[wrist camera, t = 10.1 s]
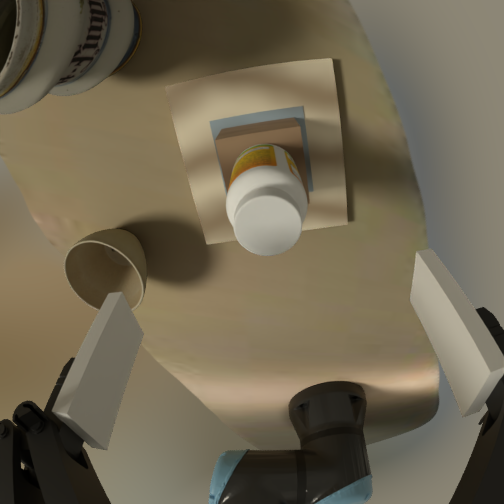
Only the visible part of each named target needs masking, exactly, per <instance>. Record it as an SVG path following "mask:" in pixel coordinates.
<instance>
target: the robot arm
mask: <svg viewBox="0 0 504 504" xmlns="http://www.w3.org/2000/svg"><path fill="white" fill-rule="evenodd" d="M410 302H411V304H412V305H413V307H414V309H415V311H416V313H417V315H418V317H419V319H420V321H421V323H422V325H423V327H424V329H425V331H426V333H427V336H428V338H429V340H430V342H431V344H432V346H433V348H434V350H435V353H436V355H437V357H438V359H439V361H440V364H441V366H442V368H443V370H444V373H445V375H446V377H447V380H448V382H449V384H450V387H451V389H452V392H453V394H454V397H455V399H456V402H457V404H458V407H459V409H460V412H461V415H462V417H466V416H468V415H471V414H473V413H476V412H479V411H480V410H481V408H482V407H483V405H484V404H485V403H486V405H487V407H488V411H487V412H486V413H485V415H484V416H483V417H482V419H481V420H480V422H479V425H481V424H482V422H483V424H482V427H481V430H480V433H479V436H478V439H477V441H476V444H475V447H474V449H473V452H472V454H471V457H470V459H469V462H468V464H467V467H466V469H465V471H464V473H463V476H462V478H461V480H460V482H459V484H458V486H457V488H456V491H455V493H454V495H453V497H452V499H451V501H450V502H449V504H504V330H503V329H502V327H501V326H500V324H499V322H498V321H497V319H496V318H495V316H494V315H493V314H492V313H491V312H490V311H488V310H487V309H486V308H484V307H482V308H478V309H475V308H474V307H473V306H472V304H471V302H470V301H469V300H468V298H467V297H466V295H465V294H464V293H463V291H462V289H461V288H460V287H459V285H458V284H457V282H456V281H455V279H454V278H453V277H452V275H451V274H450V273H449V271H448V270H447V269H446V267H445V266H444V264H443V263H442V262H441V261H440V259H439V258H438V257H437V255H436V254H435V253H434V251H433V250H432V249H427V250H421V251H416V260H415V268H414V275H413V282H412V289H411V295H410ZM143 335H144V333H143V331H142V329H141V328H140V326H139V324H138V322H137V320H136V318H135V316H134V314H133V312H132V310H131V308H130V306H129V304H128V303H127V301H126V299H125V296H124V294H123V292H115V293H109V294H108V295H107V297H106V299H105V301H104V303H103V305H102V306H101V308H100V310H99V312H98V314H97V316H96V318H95V320H94V322H93V324H92V325H91V328H90V329H89V331H88V333H87V335H86V337H85V339H84V341H83V343H82V345H81V347H80V349H79V351H78V354H77V356H76V358H71V359H70V360H69V361H68V363H67V364H66V365H65V366H64V368H63V370H62V372H61V374H60V378H58V380H57V382H56V385H55V387H54V389H53V391H52V393H51V396H50V398H49V400H48V402H47V405H46V407H45V409H44V412H43V411H42V410H41V409H40V408H39V407H38V406H37V405H36V404H35V403H33V402H32V401H25V402H22V403H21V404H20V405H18V407H17V408H16V409H15V411H14V414H13V422H14V423H15V424H16V425H17V426H16V425H14V423H12V422H11V421H10V420H8V419H4V420H2V421H0V504H111V503H110V501H109V499H108V497H107V495H106V493H105V491H104V489H103V487H102V485H101V483H100V481H99V479H98V477H97V475H96V472H95V470H94V468H93V466H92V464H91V461H90V459H89V457H88V454H87V452H86V450H85V449H84V448H83V447H82V445H83V442H84V441H85V442H86V443H87V444H88V445H90V446H91V447H92V448H98V449H103V450H107V448H108V445H109V441H110V437H111V434H112V431H113V427H114V424H115V420H116V417H117V414H118V411H119V407H120V404H121V400H122V398H123V394H124V391H125V388H126V385H127V382H128V379H129V376H130V373H131V369H132V367H133V364H134V361H135V358H136V355H137V352H138V349H139V346H140V344H141V341H142V338H143ZM366 405H367V403H366V397H365V392H364V390H363V389H362V388H361V387H360V386H358V385H356V384H353V383H348V382H329V383H323V384H319V385H315V386H312V387H309V388H307V389H305V390H303V391H301V392H299V393H298V394H296V395H295V396H294V397H293V398H292V399H291V401H290V402H289V416H290V419H291V422H292V424H293V426H294V428H295V430H296V433H297V435H298V437H299V439H300V444H301V450H264V451H261V450H249V449H246V450H236V451H235V450H230V451H225V452H224V453H222V454H221V455H220V457H219V458H218V460H217V462H216V465H215V468H214V472H213V476H212V480H211V485H210V495H209V504H364V503H365V502H367V501H368V500H369V499H370V498H371V496H372V480H371V478H372V475H371V472H370V466H369V460H368V455H367V449H366V444H365V439H364V434H363V425H364V418H365V412H366ZM21 462H22V463H23V464H24V465H25V468H24V470H23V469H22V468H21Z"/></svg>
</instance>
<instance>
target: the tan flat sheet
mask: <svg viewBox="0 0 504 504" xmlns="http://www.w3.org/2000/svg"><path fill="white" fill-rule="evenodd" d="M165 89H166V94H167V98H168V102H169V106H170V110H171V114H172V118H173V122H174V126H175V130H176V134H177V138H178V142H179V146H180V150H181V154H182V157H183V161H184V165H185V169H186V172H187V176H188V180H189V184H190V187H191V191H192V194H193V198H194V202H195V205H196V209H197V212H198V216H199V219H200V223H201V226H202V230H203V233H204V237H205V240H206V244H214V243H221V242H228V241H234V240H237V238H236V236H235V233H234V228H233V226H232V224H231V223H230V221H229V218H228V216H227V211H226V197H227V191H226V187H225V182H224V178H223V174H222V169H221V165H220V160H219V156H218V152H217V147H216V143H215V139H216V138H217V136H218V134H219V132H220V131H221V129H224V128H230V127H235V126H240V125H246V124H252V123H258V122H264V121H271V120H278V119H285V118H292V117H294V118H295V120H296V121H297V122H298V124H299V125H300V128H301V135H302V142H303V150H304V157H305V165H306V173H307V181H308V190H309V199H310V204H308V207H307V214H306V217H305V220H304V222H303V224H302V231H303V230H311V229H318V228H325V227H332V226H339V225H347V224H348V221H347V199H346V182H345V167H344V155H343V144H342V133H341V123H340V114H339V106H338V98H337V90H336V83H335V76H334V69H333V62H332V58H327V59H314V60H303V61H294V62H285V63H277V64H270V65H263V66H257V67H251V68H245V69H239V70H234V71H229V72H224V73H219V74H214V75H210V76H205V77H201V78H197V79H192V80H188V81H184V82H180V83H177V84H173V85H169V86H166V87H165Z"/></svg>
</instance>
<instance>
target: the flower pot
mask: <svg viewBox="0 0 504 504" xmlns="http://www.w3.org/2000/svg"><path fill="white" fill-rule="evenodd" d="M113 250H115V251H113ZM64 272H65V276H66V279H67V281H68V283H69V285H70V287H71V289H72V290H73V291H74V293H75V294H76V295H77V296H78V297H79V298H80V299H81V300H82V301H83V302H84V303H86V304H87V305H89V306H90V307H92V308H94V309H96V310H98V311H99V310H100V308H101V306H102V305H103V303H104V301H105V299H106V297H107V295H108V294H109V293H115V292H123V294H124V296H125V299H126V301H127V303H128V304H129V306H130V308H131V310H132V311H134V310H135V309H136V308H137V307H138V306H139V305H140V304H141V302H142V299H143V297H144V293H145V288H146V280H147V265H146V258H145V254H144V251H143V248H142V246H141V244H140V242H139V240H138V239H137V238H136V236H134V235H133V234H132V233H130V232H128V231H126V230H122V229H107V230H102V231H98V232H95V233H93V234H90V235H88V236H86V237H85V238H83V239H81V240H80V241H78V242H77V243H76V244H74V245H73V246H72V247H71V248H70V249H69V250H68V252H67V254H66V256H65V259H64Z"/></svg>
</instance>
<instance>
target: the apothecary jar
mask: <svg viewBox="0 0 504 504" xmlns="http://www.w3.org/2000/svg"><path fill="white" fill-rule="evenodd" d="M141 34H142V20H141V16H140V13H139V10H138V9H137V7H136V6H135V4H134V3H133V2H132V1H131V0H0V114H11V113H16V112H19V111H22V110H24V109H26V108H29V107H30V106H32V105H34V104H35V103H37V102H38V101H40V100H41V99H42V98H43V97H45V96H46V95H47V94H48V93H49V94H52V95H57V96H70V95H75V94H79V93H82V92H85V91H87V90H89V89H91V88H93V87H94V86H96V85H98V84H99V83H100V82H102V81H103V80H104V79H105V78H107V77H108V76H110V75H112V74H114V73H116V72H117V71H118V70H120V69H121V68H122V67H123V66H124V65H125V64H126V63H127V62H128V61H129V60H130V59H131V57H132V56H133V55H134V53H135V51H136V50H137V48H138V45H139V42H140V39H141Z"/></svg>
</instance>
